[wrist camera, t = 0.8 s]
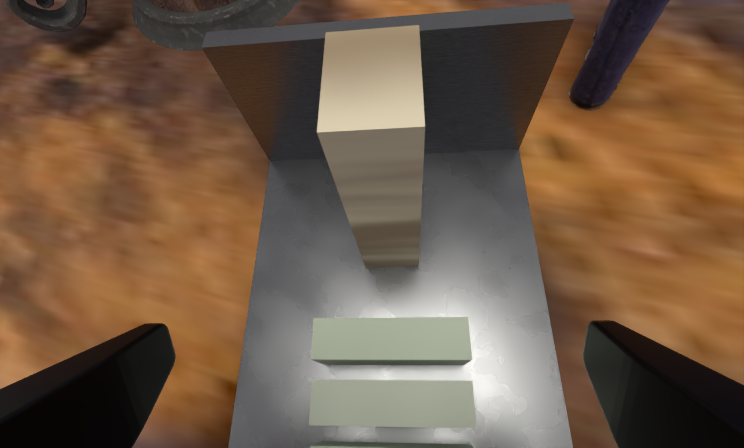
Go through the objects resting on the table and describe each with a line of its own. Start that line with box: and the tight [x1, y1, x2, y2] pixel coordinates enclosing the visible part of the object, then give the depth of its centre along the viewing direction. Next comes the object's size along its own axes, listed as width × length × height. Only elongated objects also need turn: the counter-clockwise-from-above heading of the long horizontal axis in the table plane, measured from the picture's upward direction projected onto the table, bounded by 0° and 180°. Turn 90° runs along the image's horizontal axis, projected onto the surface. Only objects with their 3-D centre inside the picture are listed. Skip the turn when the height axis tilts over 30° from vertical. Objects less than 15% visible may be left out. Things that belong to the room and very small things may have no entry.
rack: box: [202, 3, 574, 448], centre depth 17 cm, size 22×16×10 cm
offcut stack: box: [309, 317, 477, 448], centre depth 17 cm, size 7×7×3 cm
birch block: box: [317, 25, 425, 267], centre depth 17 cm, size 4×3×12 cm
